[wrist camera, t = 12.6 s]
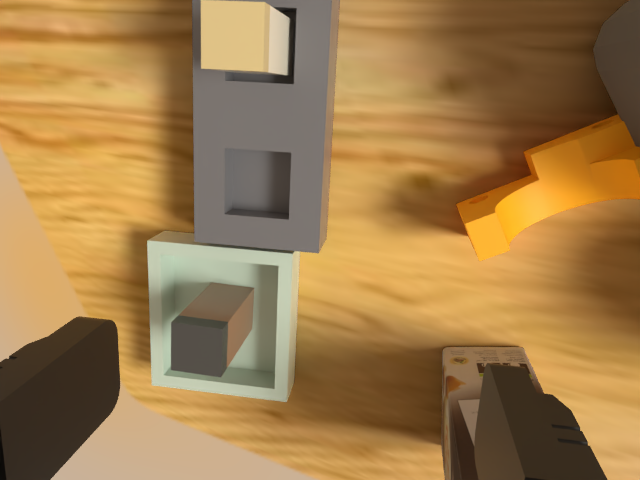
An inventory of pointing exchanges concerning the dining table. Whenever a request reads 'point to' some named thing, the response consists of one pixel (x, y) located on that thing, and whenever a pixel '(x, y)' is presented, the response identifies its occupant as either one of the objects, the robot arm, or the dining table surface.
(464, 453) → the coffee box
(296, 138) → the block
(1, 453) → the robot arm
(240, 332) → the block
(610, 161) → the pipe clamp
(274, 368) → the parts tray
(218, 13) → the block
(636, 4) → the alarm clock
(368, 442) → the dining table surface
